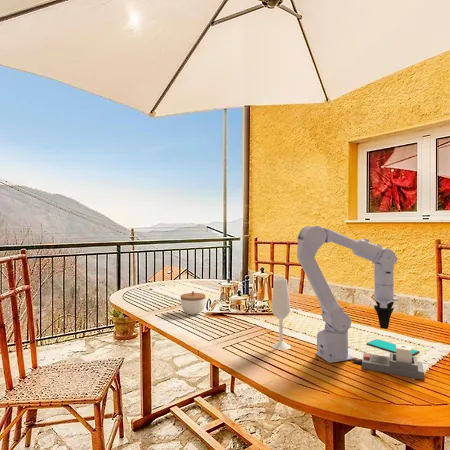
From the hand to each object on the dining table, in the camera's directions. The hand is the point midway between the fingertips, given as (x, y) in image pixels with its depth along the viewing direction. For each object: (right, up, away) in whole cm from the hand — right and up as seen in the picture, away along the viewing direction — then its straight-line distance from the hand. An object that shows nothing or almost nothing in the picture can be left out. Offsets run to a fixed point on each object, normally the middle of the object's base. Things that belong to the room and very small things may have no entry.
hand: (384, 325), depth 107 cm
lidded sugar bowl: (-69, -11, +55) cm, 89 cm away
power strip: (-4, -10, -10) cm, 15 cm away
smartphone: (+6, -11, +6) cm, 13 cm away
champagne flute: (-33, -11, +9) cm, 36 cm away
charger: (0, -8, -12) cm, 14 cm away
